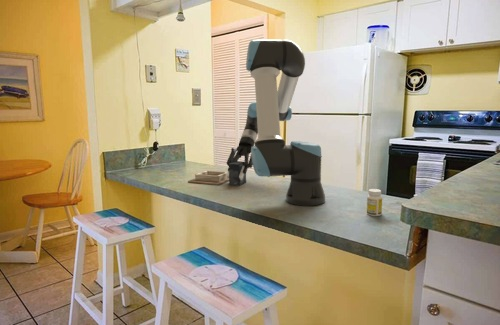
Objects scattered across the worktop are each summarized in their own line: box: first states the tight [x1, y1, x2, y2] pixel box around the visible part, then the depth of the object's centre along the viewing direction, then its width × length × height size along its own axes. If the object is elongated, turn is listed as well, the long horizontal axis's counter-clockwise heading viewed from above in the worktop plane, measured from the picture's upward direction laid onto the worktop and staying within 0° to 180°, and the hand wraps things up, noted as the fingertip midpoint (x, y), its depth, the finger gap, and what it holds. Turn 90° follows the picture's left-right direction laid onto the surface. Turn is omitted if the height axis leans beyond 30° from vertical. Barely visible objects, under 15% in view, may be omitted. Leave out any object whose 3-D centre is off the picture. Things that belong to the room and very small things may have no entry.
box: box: [228, 160, 247, 187], centre depth 161 cm, size 8×6×11 cm
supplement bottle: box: [366, 188, 383, 217], centre depth 113 cm, size 5×5×8 cm
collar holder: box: [187, 170, 229, 186], centre depth 171 cm, size 18×18×4 cm
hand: (234, 178), depth 158 cm, fingers closed on box, 6 cm apart
